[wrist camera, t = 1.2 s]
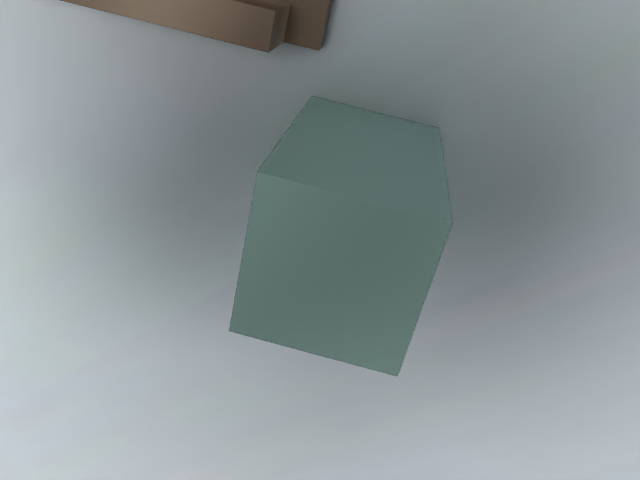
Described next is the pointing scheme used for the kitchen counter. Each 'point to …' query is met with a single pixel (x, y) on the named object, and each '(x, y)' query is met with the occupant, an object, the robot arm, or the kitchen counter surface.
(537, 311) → the kitchen counter surface
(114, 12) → the divided brown tray
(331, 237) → the green block
